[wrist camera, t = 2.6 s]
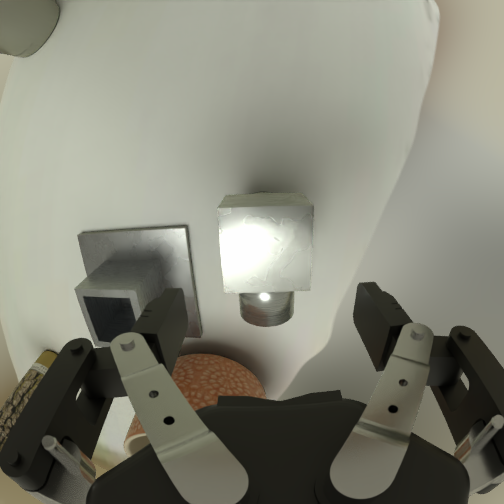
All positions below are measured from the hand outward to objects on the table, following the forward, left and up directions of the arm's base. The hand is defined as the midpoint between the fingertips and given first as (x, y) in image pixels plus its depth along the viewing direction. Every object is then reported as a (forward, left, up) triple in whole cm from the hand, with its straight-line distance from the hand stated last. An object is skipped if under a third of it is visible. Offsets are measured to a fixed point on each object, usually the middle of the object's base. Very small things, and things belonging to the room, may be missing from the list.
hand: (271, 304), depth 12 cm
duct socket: (+8, -15, -17) cm, 24 cm away
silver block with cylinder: (+1, 0, -17) cm, 17 cm away
